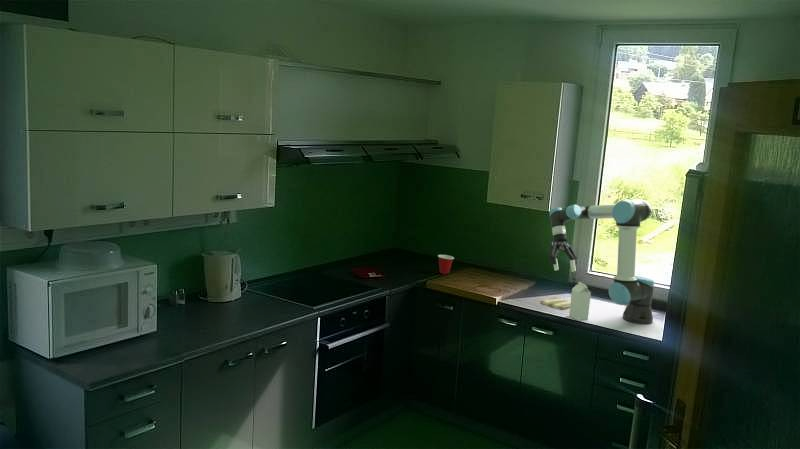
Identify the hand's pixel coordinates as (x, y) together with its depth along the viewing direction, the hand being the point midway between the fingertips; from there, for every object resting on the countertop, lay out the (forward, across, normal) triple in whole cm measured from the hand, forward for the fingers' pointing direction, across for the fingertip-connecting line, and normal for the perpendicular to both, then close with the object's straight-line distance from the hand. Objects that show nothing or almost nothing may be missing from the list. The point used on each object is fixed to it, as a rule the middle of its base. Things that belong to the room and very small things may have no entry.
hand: (565, 270), depth 355 cm
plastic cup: (-16, +24, -81) cm, 86 cm away
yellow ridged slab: (+18, 0, -9) cm, 20 cm away
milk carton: (+29, +7, +10) cm, 31 cm away
